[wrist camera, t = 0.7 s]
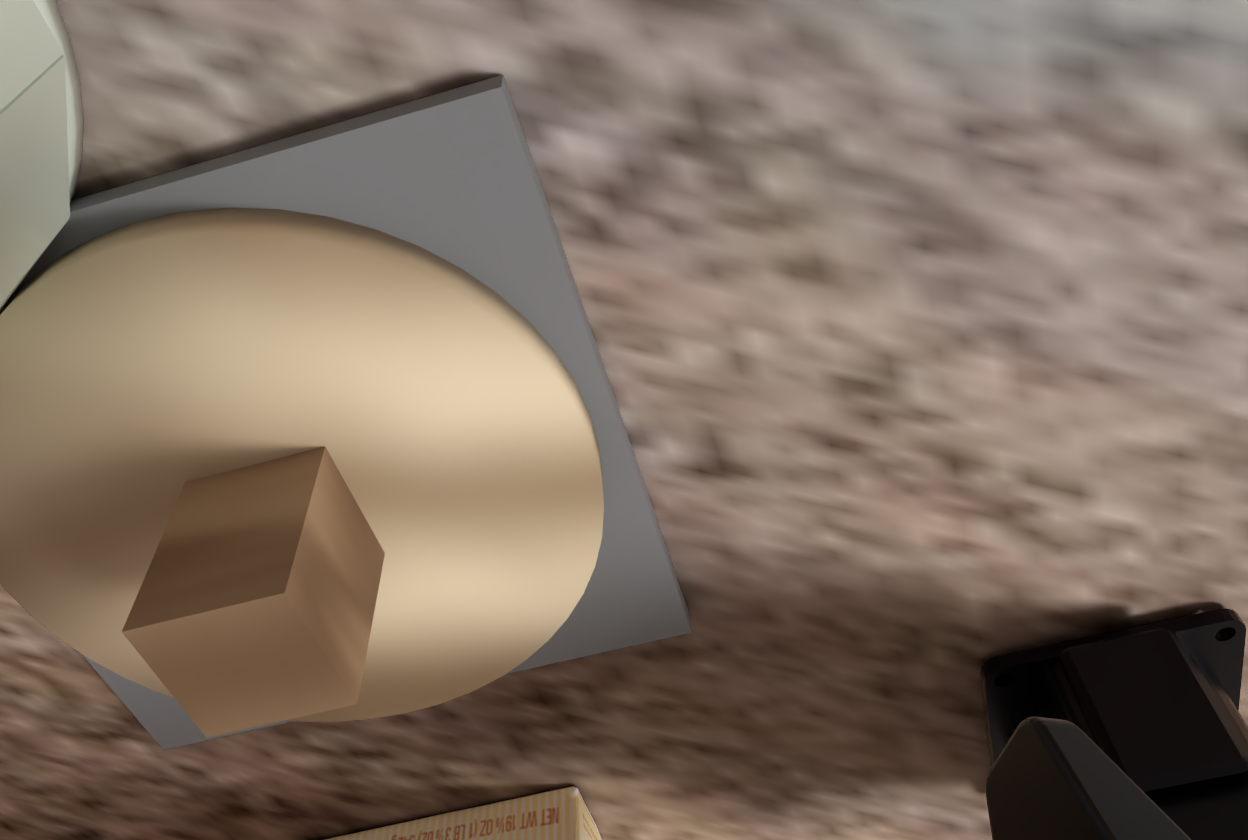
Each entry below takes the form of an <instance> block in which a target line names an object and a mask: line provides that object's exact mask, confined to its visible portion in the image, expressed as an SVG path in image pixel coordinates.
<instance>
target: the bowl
mask: <svg viewBox="0 0 1248 840" xmlns="http://www.w3.org/2000/svg"><path fill="white" fill-rule="evenodd" d="M83 132H84V116H83V106H82V96H81V85H80V79H79V75H78V70H77V66H76V62H75V58H74V53H73V49H72V45H71V40H70V37H69V34H68V32H67V29H66V26H65V24H64V21H63V18H62V15H61V13H60V10H59V7H58V5H57V2H56V0H0V309H1V308H2V307H3V305H4V304H5V303H6V302H7V300H8V299H9V298H10V296H11V295H12V294H13V292H14V291H15V290H16V288H17V287H18V286H19V284H20V283H21V282H22V280H23V279H24V278H25V276H26V275H27V274H28V273H29V271H30V270H31V269H32V267H33V266H34V265H35V263H36V262H37V261H38V259H39V258H40V257H41V255H42V254H43V253H44V251H45V250H46V249H47V247H48V246H49V245H50V244H51V242H52V241H53V240H54V238H55V237H56V236H57V234H58V233H59V232H60V230H61V229H62V228H63V226H64V225H65V224H66V222H67V221H68V220H69V217H70V202H71V201H72V199H73V197H74V194H75V190H76V186H77V181H78V176H79V171H80V167H81V162H82V152H83Z"/></svg>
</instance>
